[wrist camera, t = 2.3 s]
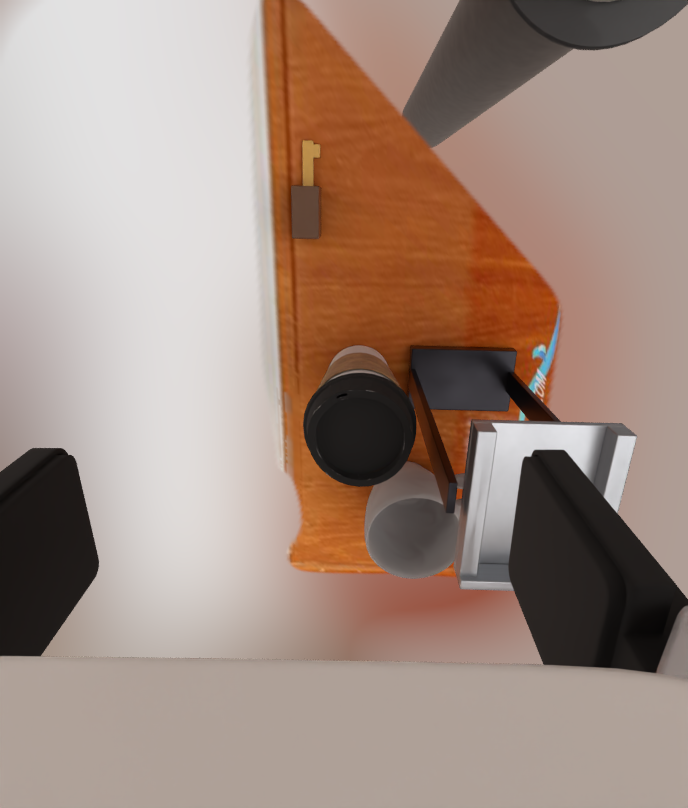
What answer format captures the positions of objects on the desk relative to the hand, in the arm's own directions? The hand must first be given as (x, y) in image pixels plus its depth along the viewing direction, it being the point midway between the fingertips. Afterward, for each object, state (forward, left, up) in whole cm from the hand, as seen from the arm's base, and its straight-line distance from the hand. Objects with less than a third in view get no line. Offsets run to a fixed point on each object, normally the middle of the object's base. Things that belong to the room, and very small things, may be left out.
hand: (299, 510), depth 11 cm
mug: (+17, +15, -38) cm, 44 cm away
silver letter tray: (+5, +14, -16) cm, 22 cm away
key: (-6, -5, -38) cm, 39 cm away
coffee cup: (+8, +5, -38) cm, 39 cm away
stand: (+5, +14, -38) cm, 41 cm away
